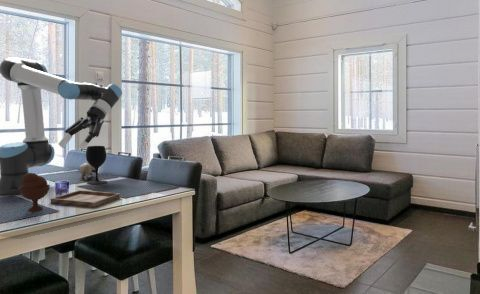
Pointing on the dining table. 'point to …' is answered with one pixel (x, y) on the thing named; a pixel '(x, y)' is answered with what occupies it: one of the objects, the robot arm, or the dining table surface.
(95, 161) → the wine glass
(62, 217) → the dining table surface
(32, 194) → the ice cream bowl
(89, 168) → the elephant figurine
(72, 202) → the tray
